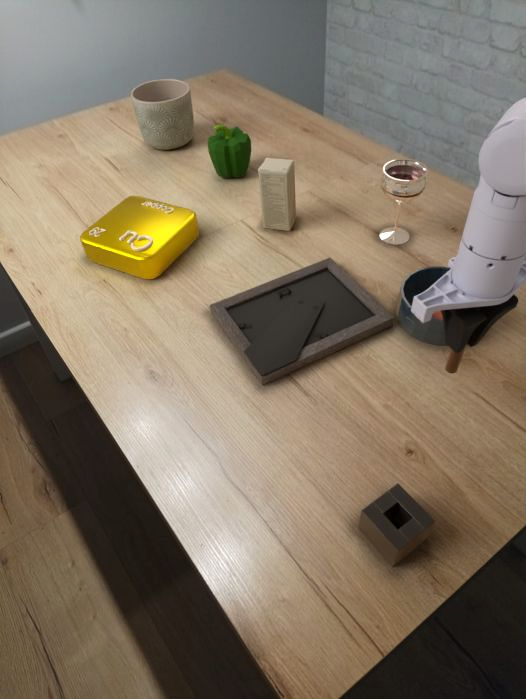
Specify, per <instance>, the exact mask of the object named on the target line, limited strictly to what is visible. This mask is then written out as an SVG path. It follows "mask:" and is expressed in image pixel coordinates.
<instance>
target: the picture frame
mask: <svg viewBox="0 0 526 699" xmlns="http://www.w3.org/2000/svg"><path fill="white" fill-rule="evenodd" d="M209 309H210V313H211V315H212V317H213V318H214V319H215V320H216V322H217V324H218V325H219V327H220V328H221V329H222V331H223V332H224V333H225V335H226V336H227V338H228V339H229V340H230V342H231V343H232V345H233V346H234V347H235V349H236V350H237V352H238V353H239V354H240V356H241V358H242V359H243V360H244V361H245V363H246V365H247V366H248V368H249V369H250V370H251V372H252V373H253V375H254V376H255V377H256V378H257V380H258V382H259V383H260V385H261V386H265V385H266V384H269V383H270V382H272V381H275V380H277V379H279V378H281V377H284V376H286V375H287V374H290V373H292V372H295V371H297V370H299V369H302V368H303V367H305V366H308V365H310V364H312V363H314V362H316V361H318V360H321V359H322V358H325V357H328V356H329V355H332V354H334V353H336V352H338V351H340V350H342V349H344V348H347V347H349V346H351V345H353V344H356V343H357V342H360V341H363V340H364V339H366V338H369V337H371V336H374V335H376V334H377V333H379V332H382V331H384V330H386V329H388V328H391V327H392V326H393V325H394V321H395V316H394V315H393V314H391V312H389V311H388V310H387V309H386V308H385V307H384V306H383V305H382V304H381V303H379V301H377V300H376V299H375V298H374V297H373V296H372V295H371V294H370V293H369V292H368V291H367V290H366V289H364V287H363V286H362V285H361V284H359V283H358V281H356V280H355V279H354V278H353V277H352V276H351V275H349V274H348V272H347V271H345V270H344V269H343V268H342V267H341V266H340V265H339V264H338V263H337V262H336V261H335V260H334V259H332V258H331V257H327V258H326V259H323V260H320V261H318V262H315V263H312V264H310V265H307V266H304V267H302V268H300V269H297V270H295V271H292V272H290V273H289V272H288V273H287V274H284V275H282V276H279V277H277V278H275V279H272V280H270V281H267V282H264V283H262V284H259V285H256V286H254V287H251V288H249V289H247V290H244V291H241V292H239V293H236V294H234V295H231V296H229V297H227V298H224V299H222V300H219V301H216V302H213V303H211V304H209Z"/></svg>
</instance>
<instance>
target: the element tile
mask: <svg viewBox="0 0 526 699" xmlns="http://www.w3.org/2000/svg"><path fill="white" fill-rule="evenodd" d="M196 213H197V212H195V211H194V210H192V209H190V208H185V207H182V206H178V205H175V204H171V203H167V202H163V201H159V200H155V199H153V198H152V199H151V198H148V197H145V196H140V195H129V196H127V197H126V198H124V199H123V200H122V201H120V202H119V203H118V204H117V205H115V206H114V207H112V209H110V210H109V211H108V212H107V213H106V214H104V215H102V217H100V218H99V219H98V220H97V221H95V222H94V223H93V224H92V225H91V226H89V227H88V228H86V230H84V231H83V232H82V233H81V234H80V235H79V240H80V243H81V245H82V246H81V247H82V248H83V251H84V253H85V256H86V258H87V259H88V260H89V261H90V262H92V263H95V264H99V265H101V266H104V267H107V268H111V269H113V270H116V271H119V272H121V273H125V274H127V275H131V276H134V277H137V278H140V279H143V280H153V279H156V278H158V277H160V276H161V275H162V274H163V273H164V272H165V271H166V270H167V269H168V268H169V267H170V266H171V265H173V263H174V262H175V261H176V260H177V259H178V258H179V257H180V256H182V254H183V253H184V252H185V251H186V250H187V249H188V248H189V247H191V245H192V244H193V243H195V241H196V240H197V239H198V238H199V235H200V228H199V223H198V216H197V214H196Z"/></svg>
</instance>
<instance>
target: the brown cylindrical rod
mask: <svg viewBox="0 0 526 699" xmlns="http://www.w3.org/2000/svg"><path fill="white" fill-rule="evenodd" d="M476 309H477V310H479V307H476ZM467 345H468V344H466V346H465V348H464V349H463V350H462V351H461V352H459V353H455V352H454V351H453V350H452V349H451V348H450V351H449V354H448V357H447V360H446V362H445V366H444V370H445V371H446V373H448V374H455V373H457V372H458V370H459V368H460V364H461V361H462V359H463V357H464V353H465V350H466V348H467Z"/></svg>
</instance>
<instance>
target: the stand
mask: <svg viewBox="0 0 526 699" xmlns="http://www.w3.org/2000/svg"><path fill="white" fill-rule="evenodd" d="M392 520H393V521H394V523H396V524H397V525H398V527H399V528H397V527H396V526H395V525H394V524H393V523H392V522H391V521H392ZM435 523H436V520H435V519H434V518H433V517H432V515H430V514H429V513H428V512H427V511H426V510H425V509H424V508H423V506H421V505H420V503H418V502H417V501H416V499H414V498H413V497H412V495H411V494H409V492H407V490H405V489H404V487H402V485H401V484H400V483H398V482H397V483H395V485H393V486H392V487H390V488H389V489H388V490H387V491H385V492H384V493H383V494H381V495H380V496H379V497H377V498H376V499H374V500H373V501H372V502H370V503H369V504H368V505H367V506H365V507H364V508H362V509H361V511H360V516H359V520H358V525H357V528H358V530H360V531H361V533H362V534H363V535H364V536H365V538H366V539H367V540H368V541H369V542H370V543H371V544H372V546H373V547H374V548H375V549H376V550H377V552H379V554H380V555H381V556H382V557H383V558H384V560H386V562H387V563H388V564H389V565H390V566H391V567H392V568H393V567H394V566H396V565H397V564H398V563H399V562H400V561H401V560H403V559H405V557H407V555H409V554H410V553H411V552H412V551H414V550H415V549H416V548H417V547H419V546H420V545H421V544H422V543H423V542H424V541H426V540H427V539H428V538H429V536H430V534H431V531H432V530H433V527H434V525H435Z"/></svg>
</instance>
